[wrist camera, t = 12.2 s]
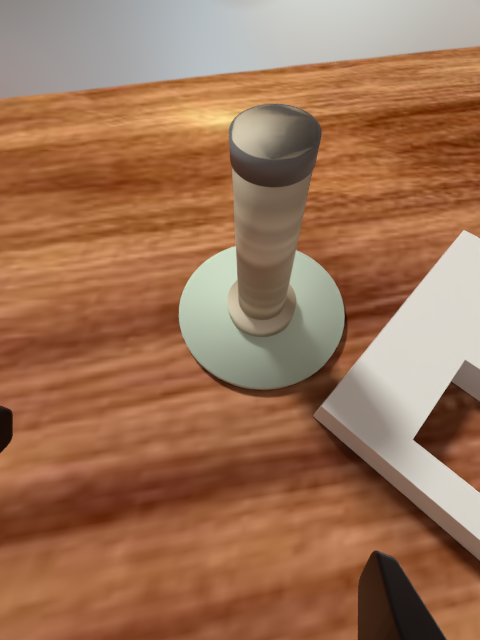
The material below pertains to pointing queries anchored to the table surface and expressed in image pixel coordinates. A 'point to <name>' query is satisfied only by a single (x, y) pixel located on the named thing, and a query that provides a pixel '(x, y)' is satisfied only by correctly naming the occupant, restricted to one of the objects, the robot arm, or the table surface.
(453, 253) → the socket plate
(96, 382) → the table surface
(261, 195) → the key peg
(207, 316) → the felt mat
